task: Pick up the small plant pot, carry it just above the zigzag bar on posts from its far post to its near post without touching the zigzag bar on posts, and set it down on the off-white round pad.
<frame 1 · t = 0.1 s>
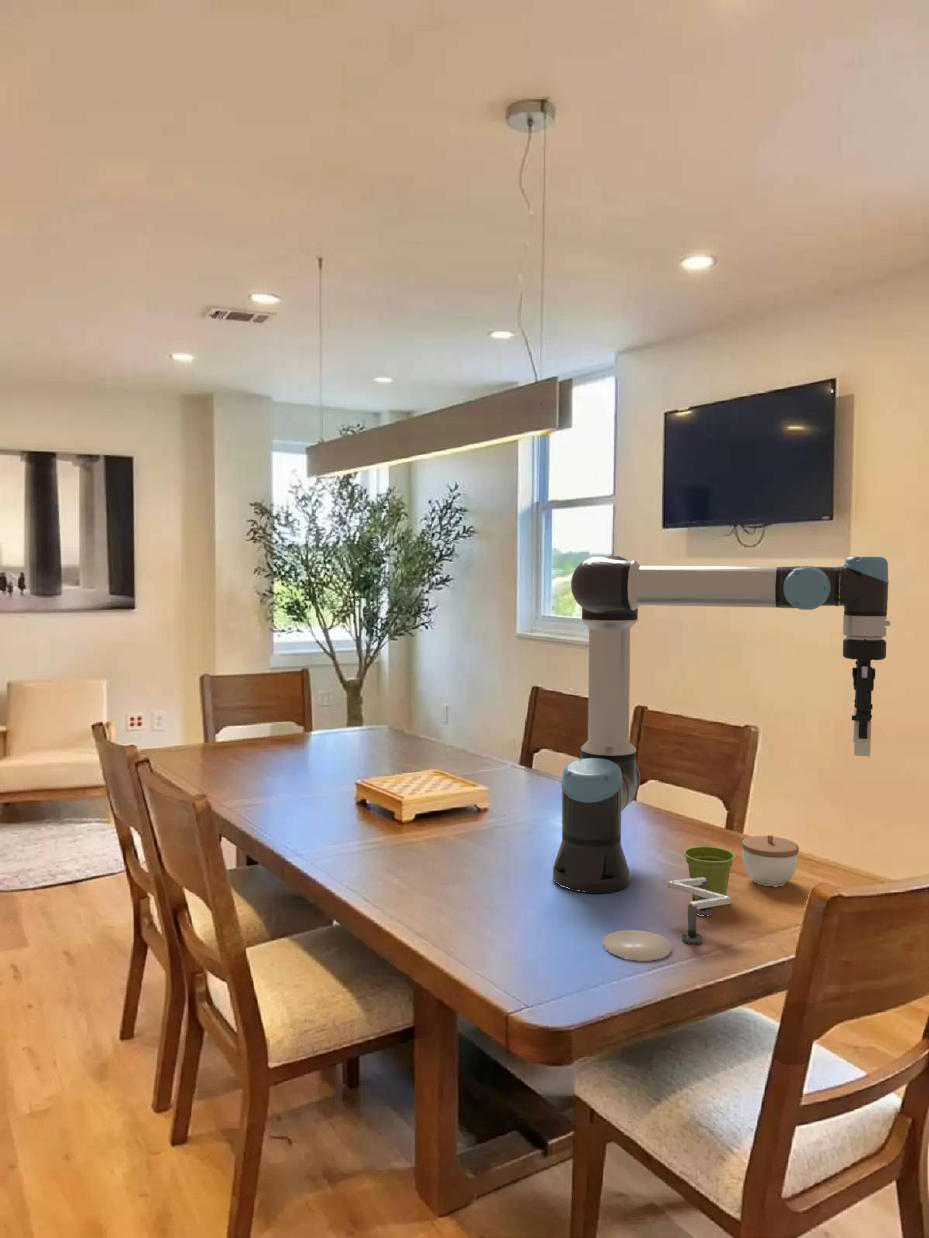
hand: (861, 749, 173), 28 cm above the table, tool pointing down, fingers open, 13 cm apart
plant pot: (708, 899, 172), on the table
zigzag bar on posts: (697, 926, 158), on the table
lidded jar: (769, 882, 181), on the table
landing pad: (637, 946, 150), on the table
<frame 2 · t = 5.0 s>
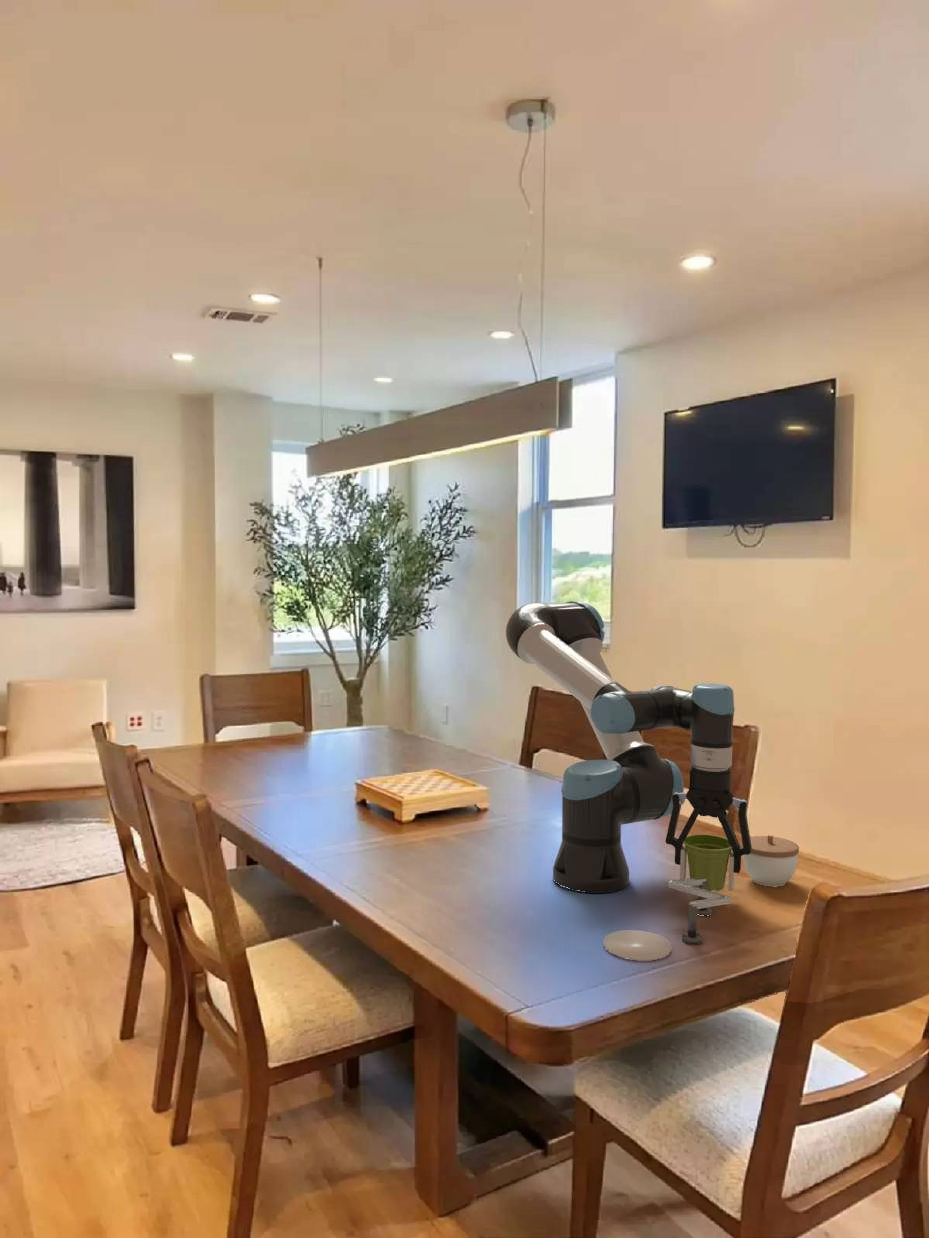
hand: (706, 884, 172), 2 cm above the table, tool pointing down, fingers closed on plant pot, 8 cm apart
plant pot: (706, 887, 172), point 2 cm above the table, touching gripper
everything else where it was.
when the fingers open (2 cm above the table, at t = 16.3 s): plant pot moves 1 cm, point 1 cm above the table.
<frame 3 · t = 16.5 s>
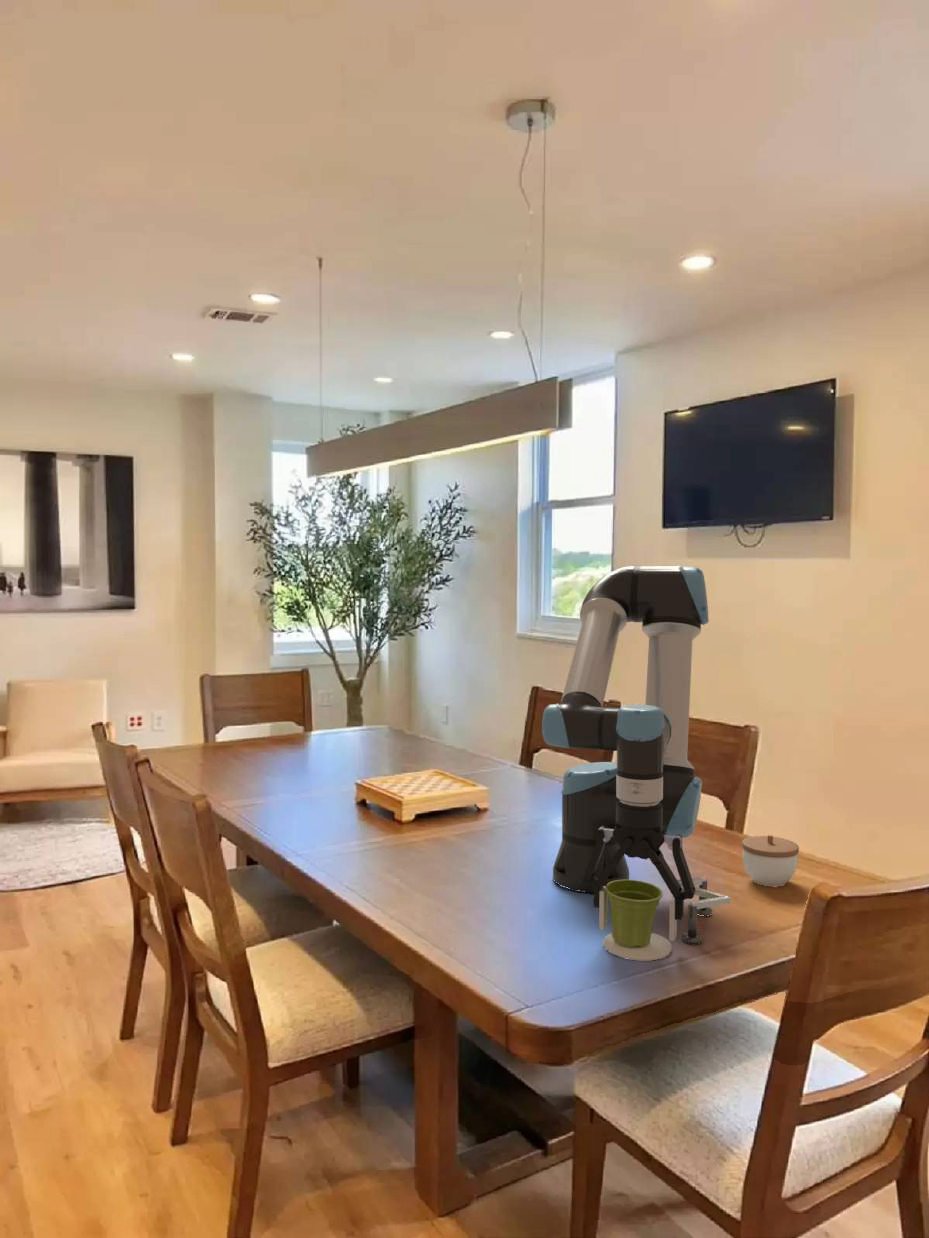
hand: (637, 932, 150), 2 cm above the table, tool pointing down, fingers open, 11 cm apart
plant pot: (630, 941, 151), point 1 cm above the table, touching gripper
everything else where it was.
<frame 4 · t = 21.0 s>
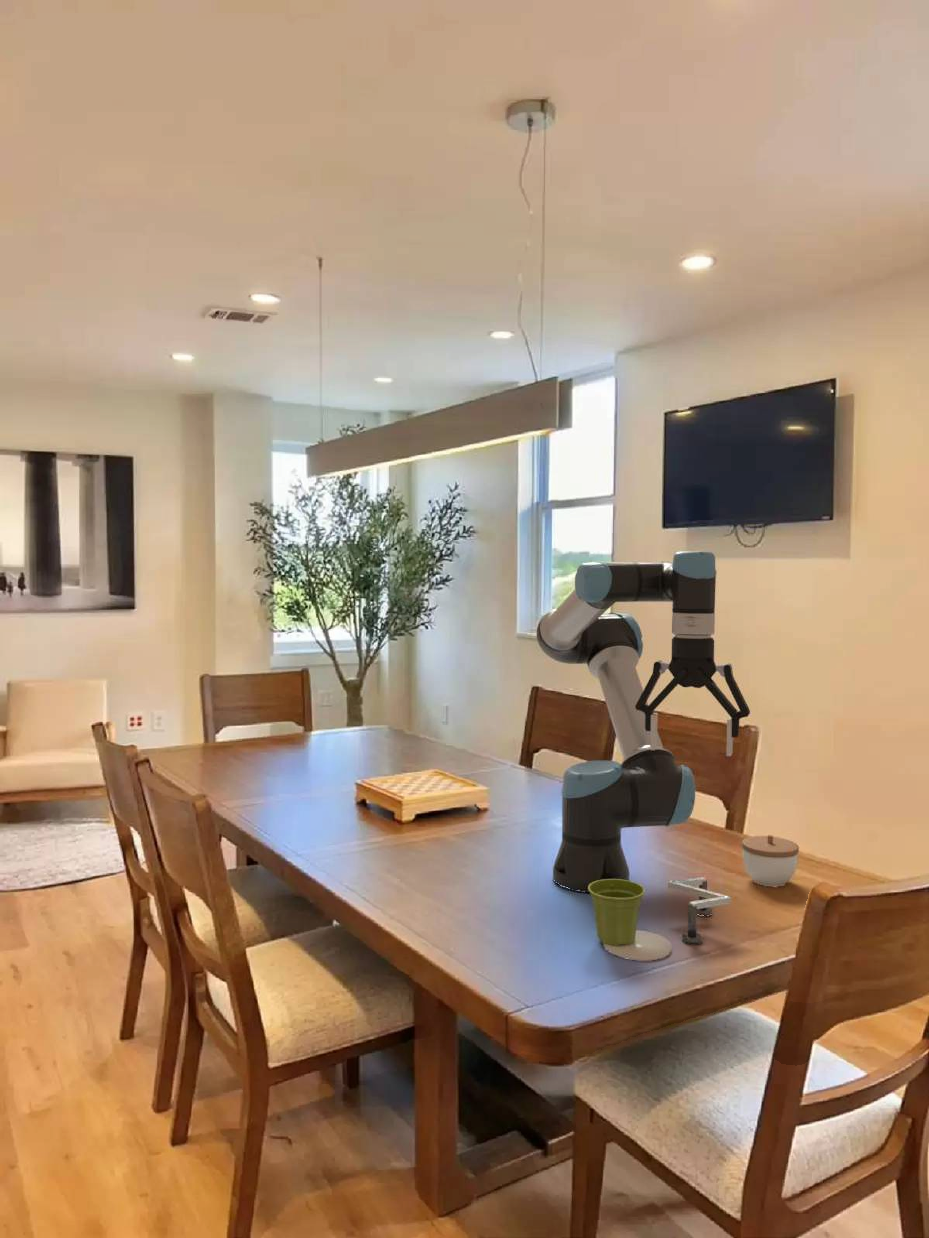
hand: (690, 751, 167), 29 cm above the table, tool pointing down, fingers open, 13 cm apart
plant pot: (615, 940, 152), on the table, touching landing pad
everything else where it was.
at the end: plant pot inside the target area (3.7 cm from its centre), on the table; plant pot tilted 0°; plant pot touching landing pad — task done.
